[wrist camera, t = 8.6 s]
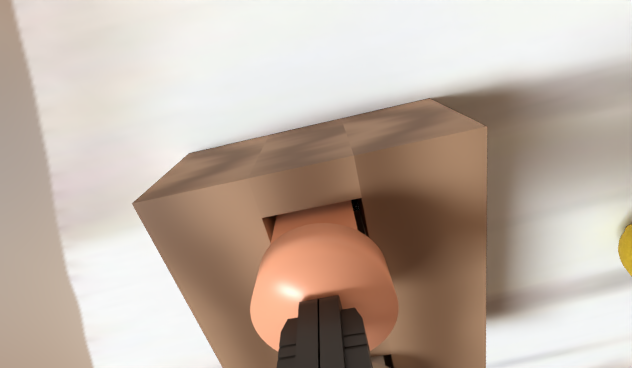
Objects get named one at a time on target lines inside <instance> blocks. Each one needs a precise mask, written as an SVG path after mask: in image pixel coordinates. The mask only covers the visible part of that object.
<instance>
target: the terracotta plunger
mask: <svg viewBox="0 0 632 368" xmlns="http://www.w3.org/2000/svg"><path fill="white" fill-rule="evenodd" d="M335 295H339V297H340V301H341V305H342V309H349V308H354V307H355V308H356V310H357V311H358V313H359V314H360V315H361V317H362V318H363V322H364V327H365V331H366V335H367V340H368V344H369V349H370V351H371V350H373V349H374V348H376V347H377V346H378V345H379V344H381V343H382V342H383V341H384V340H385V339H386V338H387V337H388V336H389V334H390V333H391V331H392V330H393V328H394V326H395V324H396V321H397V317H398V311H399V306H398V299H397V295H396V292H395V289H394V286H393V282H392V279H391V276H390V273H389V270H388V267H387V264H386V261H385V258H384V256H383V254H382V252H381V250H380V249H379V247H378V246H377V245H376V244H375V243H374V242H373V241H372V240H371V239H370V238H369V237H368V236H366V235H365V234H363V233H361V232H360V231H358V229H357V224H356V220H355V216H354V211H353V207H352V203H351V200H348V201H343V202H338V203H333V204H328V205H323V206H318V207H313V208H308V209H304V210H299V211H294V212H289V213H284V214H279V215H277V217H276V221H275V226H274V230H273V235H272V240H271V244H270V246H269V247H268V249H267V250H266V252H265V254H264V255H263V257H262V260H261V263H260V267H259V271H258V275H257V279H256V283H255V287H254V291H253V295H252V299H251V304H250V314H251V320H252V323H253V326H254V328H255V330H256V331H257V333H258V334H259V336H260V337H261V338H262V339H263V340H264V341H265V342H266V343H267V344H268V345H269V346H270V347H272V348H273V349H275V350H276V351H279V342H280V334H281V331H282V329H283V327H284V325H285V323H286V321H287V319H291V318H297V317H298V307H299V302H301V301H307V300H312V299H320V298H323V297H329V296H335Z"/></svg>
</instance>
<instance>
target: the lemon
mask: <svg viewBox="0 0 632 368" xmlns="http://www.w3.org/2000/svg"><path fill="white" fill-rule="evenodd" d="M618 252H619V256H620V260H621V262H622V264H623V266H624V267H625V268H626V270H627V271H628V272H629V274H630V275H631V276H632V224H631V225H628V226H627V227H626V228H625V231H624V233H623V234H622V236H621V238H620V240H619V246H618Z"/></svg>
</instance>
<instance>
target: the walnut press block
mask: <svg viewBox="0 0 632 368" xmlns="http://www.w3.org/2000/svg"><path fill="white" fill-rule="evenodd" d="M353 199H357V202H358V207H359V210H357V211H354V216H355V220H356V224H357V229H358V231H360V232H361V233H363V234H365V235H366V236H368V237H369V238H370V239H371V240H372V241H373V242H374V243H375V244H376V245H377V246H378V247H379V249H380V250H381V252H382V254H383V256H384V258H385V261H386V264H387V267H388V270H389V273H390V276H391V279H392V282H393V286H394V289H395V292H396V295H397V299H398V306H399V311H398V317H397V321H396V324H395V326H394V328H393V330H392V331H391V333H390V334H389V336H388V337H387V338H386V339H385V340H384V341H383V342H382V343H381V344H379V345H378V346H377V347H376V348H374V349H373V350H371V351H370V355H371V357H376V356H382V355H383V357H384V362H385V366H387V367H389V368H486V242H487V126H485V125H483V124H481V123H479V122H477V121H475V120H473V119H471V118H469V117H467V116H465V115H463V114H461V113H459V112H456V111H454V110H452V109H450V108H448V107H446V106H444V105H442V104H440V103H438V102H436V101H434V100H432V99H430V98H429V99H425V100H420V101H416V102H411V103H407V104H403V105H398V106H394V107H390V108H385V109H381V110H377V111H372V112H368V113H363V114H359V115H355V116H350V117H346V118H342V119H337V120H333V121H329V122H324V123H320V124H315V125H311V126H307V127H302V128H298V129H294V130H289V131H285V132H281V133H276V134H272V135H267V136H263V137H259V138H254V139H250V140H246V141H241V142H237V143H233V144H228V145H224V146H219V147H215V148H211V149H206V150H202V151H198V152H193V153H189V154H188V155H187V156H186V157H184V158H183V159H182V160H181V161H180V162H179V163H178V164H176V165H175V166H174V167H173V168H172V169H171V170H170V171H168V172H167V173H166V174H165V175H164V176H163V177H162V178H161V179H159V180H158V181H157V182H156V183H155V184H154V185H153V186H151V187H150V188H149V189H148V190H147V191H146V192H145V193H143V194H142V195H141V196H140V197H139V198H138V199H137V200H136V201H134V202H133V203H132V204H133V206H134V208H135V210H136V212H137V214H138V215H139V217H140V219H141V221H142V223H143V224H144V226H145V228H146V230H147V232H148V233H149V235H150V237H151V239H152V241H153V242H154V244H155V246H156V248H157V250H158V251H159V253H160V255H161V257H162V259H163V261H164V262H165V264H166V266H167V268H168V270H169V271H170V273H171V275H172V277H173V279H174V280H175V282H176V284H177V286H178V288H179V289H180V291H181V293H182V295H183V297H184V299H185V300H186V302H187V304H188V306H189V308H190V309H191V311H192V313H193V315H194V317H195V318H196V320H197V322H198V324H199V326H200V327H201V329H202V331H203V333H204V335H205V336H206V338H207V340H208V342H209V344H210V346H211V347H212V349H213V351H214V353H215V355H216V356H217V358H218V360H219V362H220V364H221V365H222V367H223V368H277V361H278V351H276V350H275V349H273V348H272V347H270V346H269V345H268V344H267V343H266V342H265V341H264V340H263V339H262V338H261V337H260V336H259V334H258V333H257V331H256V330H255V328H254V326H253V323H252V320H251V314H250V304H251V299H252V295H253V291H254V287H255V283H256V279H257V275H258V271H259V267H260V263H261V260H262V257H263V255H264V254H265V252H266V250H267V249H268V247H269V246H270V244H271V240H272V235H273V230H274V226H275V221H276V217H277V215H279V214H284V213H289V212H294V211H299V210H304V209H308V208H313V207H318V206H323V205H328V204H333V203H338V202H343V201H348V200H353Z"/></svg>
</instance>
